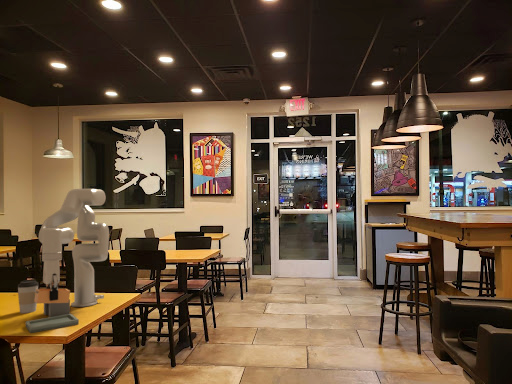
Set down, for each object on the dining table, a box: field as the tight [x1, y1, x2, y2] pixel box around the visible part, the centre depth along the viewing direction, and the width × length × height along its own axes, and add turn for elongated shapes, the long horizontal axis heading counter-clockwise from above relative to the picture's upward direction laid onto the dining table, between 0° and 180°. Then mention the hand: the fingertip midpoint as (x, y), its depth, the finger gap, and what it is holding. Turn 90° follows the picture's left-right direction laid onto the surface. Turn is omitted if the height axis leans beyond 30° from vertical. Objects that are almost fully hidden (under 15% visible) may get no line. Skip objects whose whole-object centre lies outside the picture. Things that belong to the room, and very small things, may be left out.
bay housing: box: [43, 298, 71, 318], centre depth 183 cm, size 16×8×8 cm, turn 38°
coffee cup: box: [17, 279, 39, 314], centre depth 192 cm, size 9×9×15 cm
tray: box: [25, 313, 80, 334], centre depth 166 cm, size 18×13×2 cm
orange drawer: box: [34, 288, 71, 304], centre depth 166 cm, size 12×7×5 cm, turn 128°
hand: (51, 298), depth 166 cm, fingers closed on orange drawer, 7 cm apart
